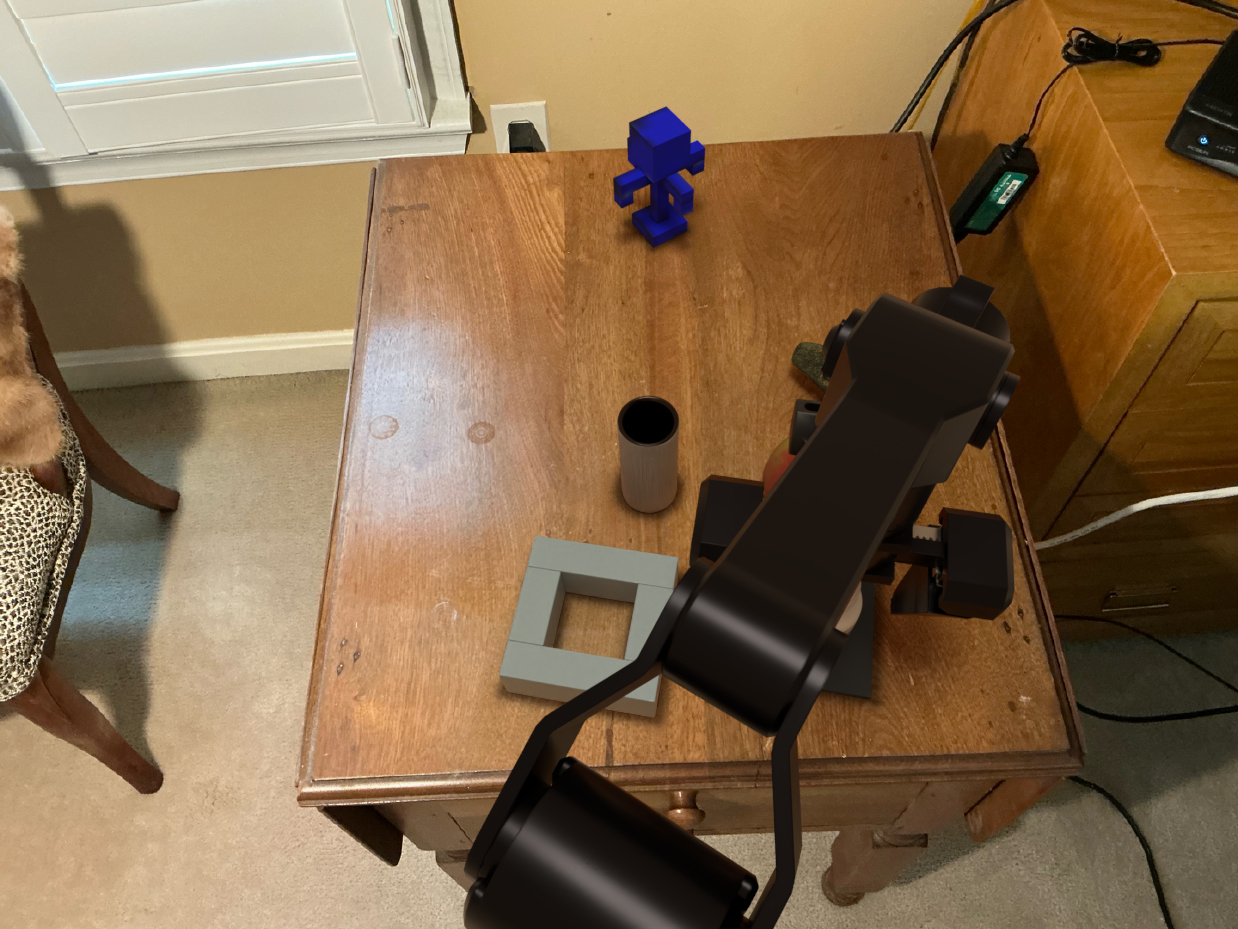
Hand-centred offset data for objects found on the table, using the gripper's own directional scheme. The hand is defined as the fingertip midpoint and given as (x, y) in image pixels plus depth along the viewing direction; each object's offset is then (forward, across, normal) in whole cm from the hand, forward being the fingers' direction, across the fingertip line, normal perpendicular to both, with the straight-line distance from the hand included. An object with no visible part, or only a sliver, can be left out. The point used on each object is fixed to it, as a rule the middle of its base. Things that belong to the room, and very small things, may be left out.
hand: (825, 597), depth 61 cm
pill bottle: (+6, 0, 0) cm, 6 cm away
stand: (+6, +16, +3) cm, 17 cm away
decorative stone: (+7, -2, -22) cm, 23 cm away
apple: (+6, +1, -11) cm, 13 cm away
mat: (+6, 0, 0) cm, 6 cm away
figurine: (+7, +18, -40) cm, 44 cm away
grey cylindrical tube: (+6, +14, -10) cm, 18 cm away
